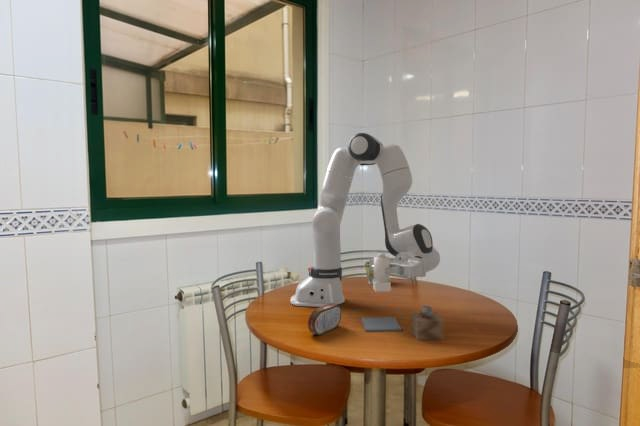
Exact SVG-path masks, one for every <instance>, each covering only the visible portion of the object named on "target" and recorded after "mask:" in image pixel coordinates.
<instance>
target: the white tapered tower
mask: <svg viewBox="0 0 640 426" xmlns="http://www.w3.org/2000/svg"><path fill="white" fill-rule="evenodd" d="M373 258H374V279H373V284H372V288H373V290H374V292H376V293H377V292H391V291H392V287H391V286H392V285H391V281H390V274H388V273H386V272H385V271H386V270H385V269H386V268H388V267H389V258H390V256H386V254H385V253H377V256H373Z"/></svg>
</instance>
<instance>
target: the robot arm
mask: <svg viewBox="0 0 640 426" xmlns="http://www.w3.org/2000/svg"><path fill="white" fill-rule="evenodd" d="M373 165H377V168H378V169H379V174H380V177H381V180H382V193H381V195H380V204H381V205H380V206H381V214H382V220H383V227H384V243H385V244H384V245H385V248H386V250H387V252H389V254H391V255H392V256H394V258H391V257H389V267H388V268H386V269H385V270H386V271H385V272H386V273H388V274H389V275H391V274H395V275H399V276H400V277H403V278H408V277H410V278H417V277H419V278H425V277H426V276H427V273H428V272H431V271H433V270H434V269H436V268H437V267H439V264H440V262H441V255H440V253H439V251H438V250H437V249H436V248H435V247H434V246H433V237H432V234H431V232H430V231H429V229H428V228H427V227H426V226H424V225H423V224H420V223H416V224H414V225H409V226H407V227H404V228H401V229H400V224H399V217H398V212H397V208H398V205H399V203H400V201H401V200H402V199H403V197H405V196H406V195H407V194H408V193H409V191H410V189H411V188H412V185H413V175H412V173H411V172H412V171H411V169H410V166H409V163H408V160H407V158H406V156H405V154H404V151H403V149H402V148H401V147H400V146H399V145H398V144H394V143H392V144H386V145H383V143H382V141H379V139H378V138H376V137H375V136H373V135H371V134H368V133H367V132H359V133H358V132H357V133H356V134H354V135H353V136H352V137H350V139H349V141H348V145H347V147H345V146H343V147H342V146H341V147H338V148H336V149H335V150H334V152H333V153H332V155H331V158H330V160H329V162H328V166H327V169H326V173H325V177H324V180H323V183H322V187H321V192H320V196H319V199H318V200H319V201H318V205H317V208H316V211H315V212H314V213H313V216H312V219H311V220H312V221H311V228H312V242H313V267H312V266H308V267H307V271H308V276H307V277H306V278H305V279H304V280H301V282H300V283H298V285H297V287H296V290H295V294H293V295H292V296H291V297H290V301H289V303H290V302H291V303H290V304H291V305H292V304H293V305H292V306H294V305H295V307H296V306H298V307H316V308H319V307H322V306H324V305H327V304H330V303H333V304H335V305H342V303H345V301H346V299H345V297H344V293H343V284H342V280H343V270H342V269H343V268H342V266H341V265H342V262H341V261H342V260H341V255H342V254H341V252H342V251H341V249H342V248H341V223H342V219H343V216H344V211H345V208H346V205H347V202H348V201H347V200H348V197H349V193H350V189H351V186H352V182H353V178H354V176H355V172H356V169H357V167H358V166H362V167H363V166H373ZM369 261H370V268H371V270H373V271H374V257H371V258H370V259H369Z"/></svg>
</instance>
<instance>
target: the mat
mask: <svg viewBox="0 0 640 426" xmlns="http://www.w3.org/2000/svg"><path fill="white" fill-rule="evenodd" d="M360 320H361V323H362V325H363V328H364V331H365V332H403V328H402V326H401V325H400V324H399V322H398V320H397V319H396V317H393V316H388V317H384V316H383V317H382V316H381V317H360Z"/></svg>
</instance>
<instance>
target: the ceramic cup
mask: <svg viewBox="0 0 640 426" xmlns="http://www.w3.org/2000/svg"><path fill="white" fill-rule="evenodd" d="M364 265H365V272H366V278H367V283H368V284H369V285H373V279H374V271H373V270H371V268H370V260H369V261H366V262H364Z"/></svg>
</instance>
